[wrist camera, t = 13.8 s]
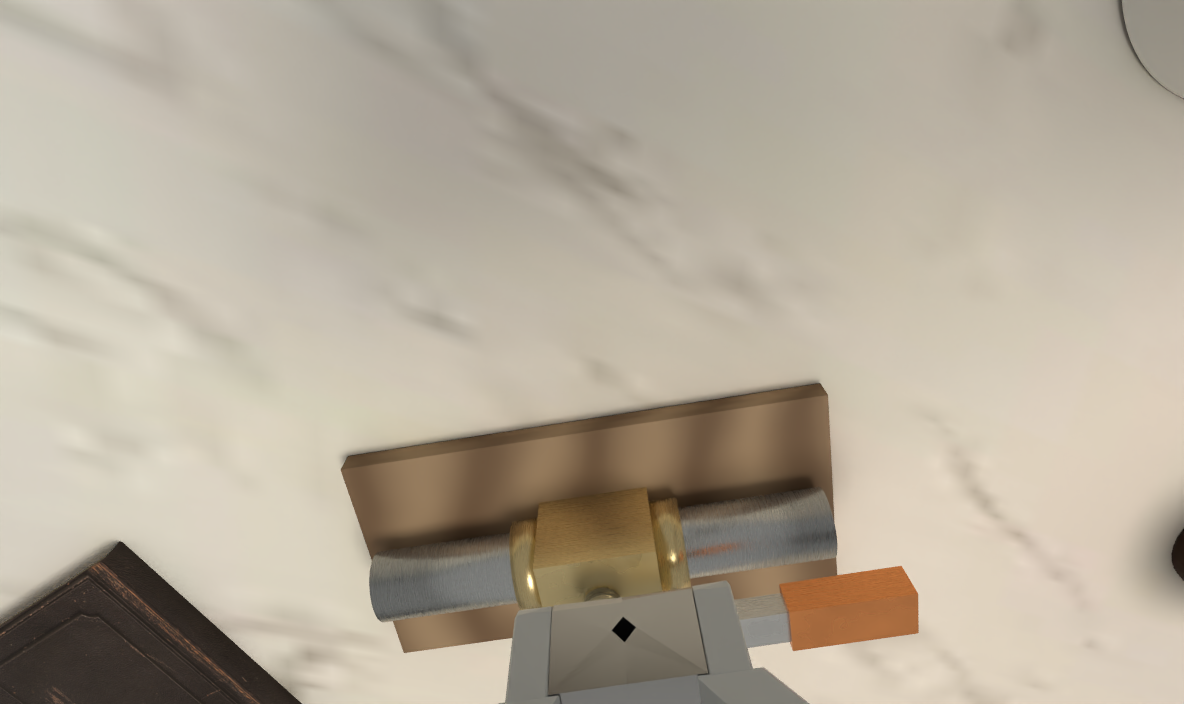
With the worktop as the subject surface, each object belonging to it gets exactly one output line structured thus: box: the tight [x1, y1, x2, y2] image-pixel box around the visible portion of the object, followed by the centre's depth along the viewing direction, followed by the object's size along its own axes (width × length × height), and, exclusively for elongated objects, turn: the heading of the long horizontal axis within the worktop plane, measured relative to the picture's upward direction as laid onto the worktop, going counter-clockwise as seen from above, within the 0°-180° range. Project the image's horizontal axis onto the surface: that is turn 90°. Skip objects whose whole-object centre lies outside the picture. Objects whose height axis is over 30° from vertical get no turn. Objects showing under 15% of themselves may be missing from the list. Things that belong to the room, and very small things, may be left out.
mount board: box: [341, 383, 837, 653], centre depth 47 cm, size 28×14×2 cm, turn 99°
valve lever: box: [734, 566, 918, 651], centre depth 37 cm, size 17×3×2 cm, turn 100°
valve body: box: [369, 487, 837, 622], centre depth 43 cm, size 26×6×8 cm, turn 100°
